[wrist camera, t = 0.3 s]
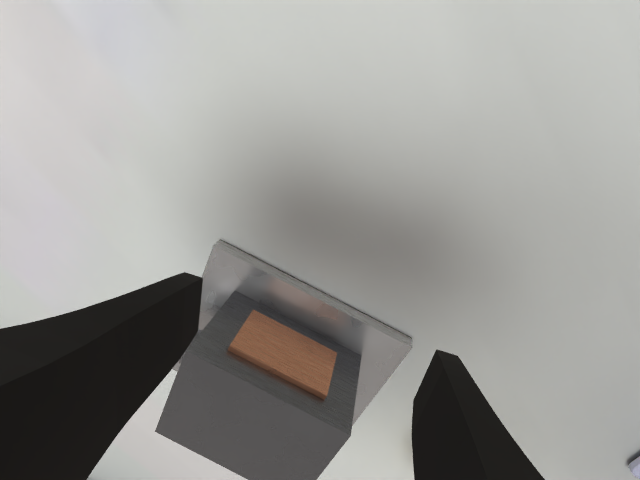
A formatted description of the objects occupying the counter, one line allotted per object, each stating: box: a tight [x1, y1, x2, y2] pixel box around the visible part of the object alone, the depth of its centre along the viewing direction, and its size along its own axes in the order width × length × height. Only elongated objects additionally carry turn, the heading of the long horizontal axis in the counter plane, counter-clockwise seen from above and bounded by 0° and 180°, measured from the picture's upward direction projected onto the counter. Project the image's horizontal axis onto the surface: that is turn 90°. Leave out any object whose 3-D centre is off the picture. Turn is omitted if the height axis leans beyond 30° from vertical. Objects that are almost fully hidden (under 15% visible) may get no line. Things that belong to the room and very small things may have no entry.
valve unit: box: [155, 240, 412, 480], centre depth 20 cm, size 12×10×6 cm
